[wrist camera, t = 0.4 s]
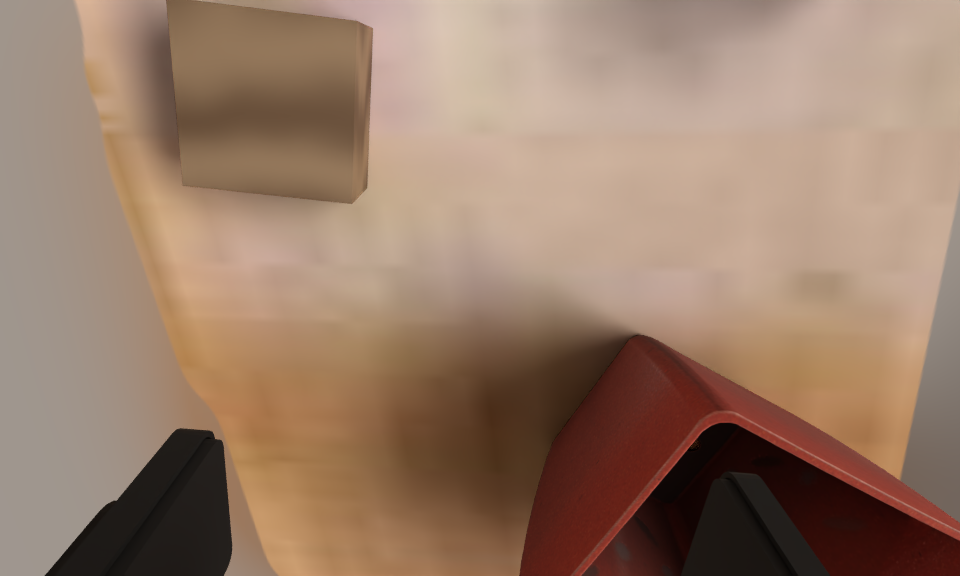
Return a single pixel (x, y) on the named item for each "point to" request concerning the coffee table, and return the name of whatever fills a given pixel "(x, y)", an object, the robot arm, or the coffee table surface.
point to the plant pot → (689, 475)
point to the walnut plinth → (271, 100)
